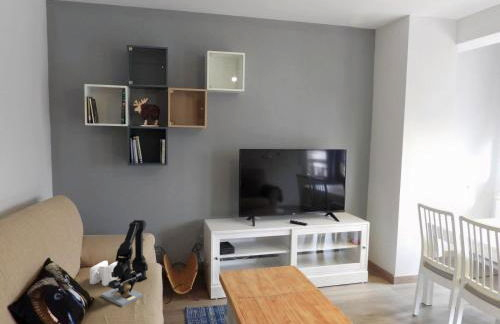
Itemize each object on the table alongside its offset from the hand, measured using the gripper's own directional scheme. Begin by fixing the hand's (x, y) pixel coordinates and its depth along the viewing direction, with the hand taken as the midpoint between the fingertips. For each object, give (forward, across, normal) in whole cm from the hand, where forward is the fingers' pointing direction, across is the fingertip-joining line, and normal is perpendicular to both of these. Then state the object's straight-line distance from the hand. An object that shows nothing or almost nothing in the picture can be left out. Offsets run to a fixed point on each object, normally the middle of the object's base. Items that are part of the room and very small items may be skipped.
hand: (125, 293), depth 200 cm
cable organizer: (+3, -5, -29) cm, 29 cm away
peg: (+2, 0, 0) cm, 3 cm away
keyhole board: (+3, 0, -4) cm, 5 cm away
